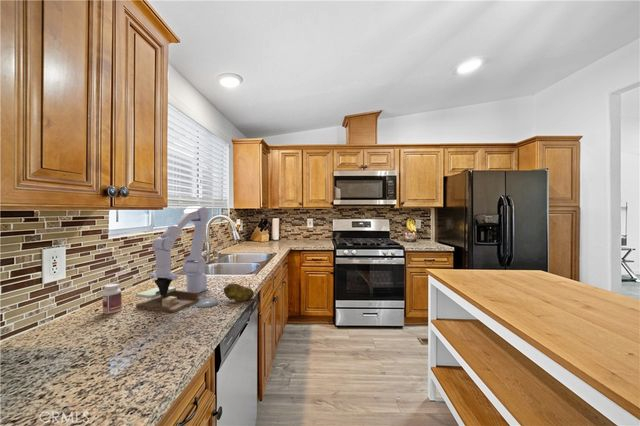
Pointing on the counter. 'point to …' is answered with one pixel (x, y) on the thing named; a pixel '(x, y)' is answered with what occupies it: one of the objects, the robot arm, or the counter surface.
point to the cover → (153, 292)
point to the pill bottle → (112, 299)
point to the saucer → (206, 303)
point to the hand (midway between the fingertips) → (163, 294)
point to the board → (182, 302)
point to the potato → (238, 292)
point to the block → (169, 301)
